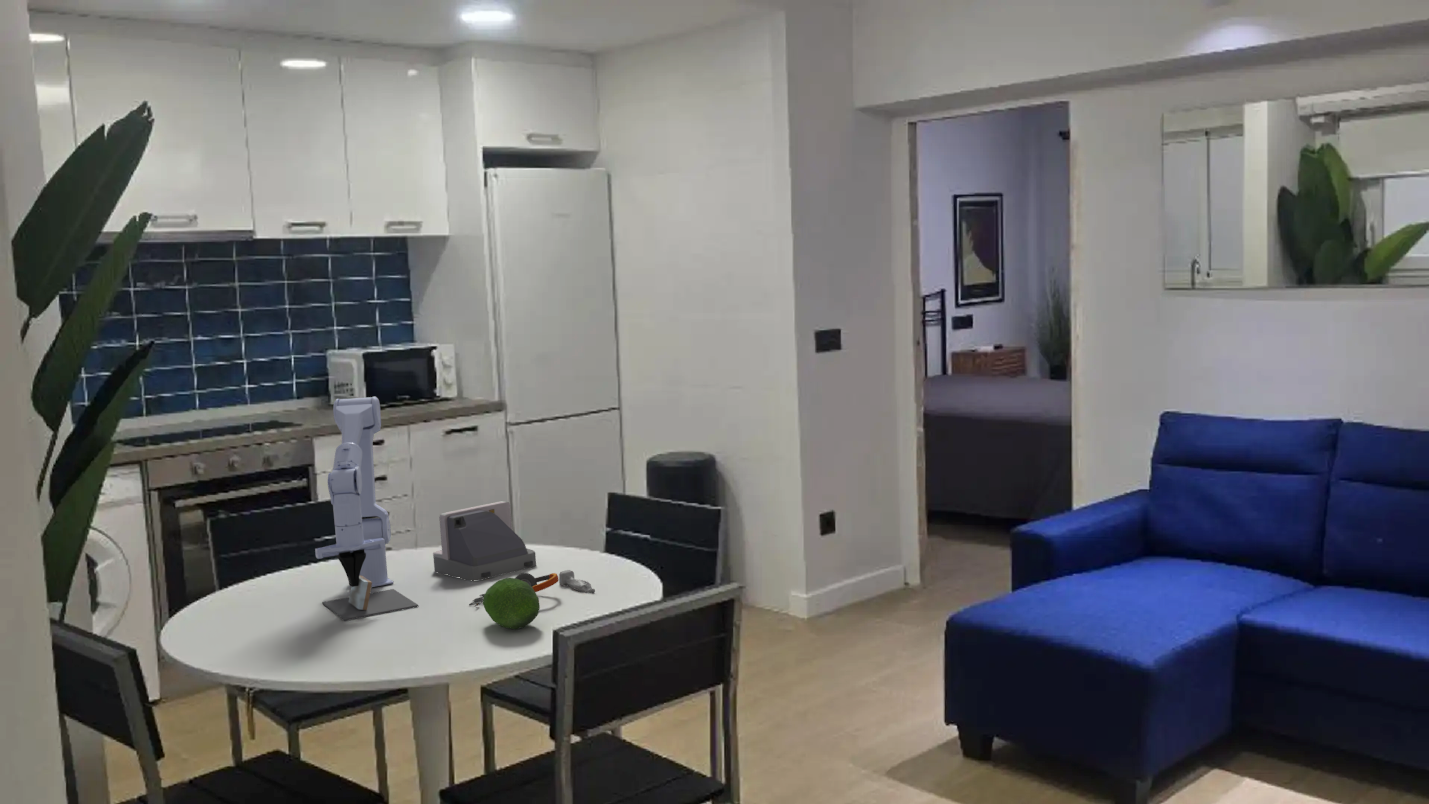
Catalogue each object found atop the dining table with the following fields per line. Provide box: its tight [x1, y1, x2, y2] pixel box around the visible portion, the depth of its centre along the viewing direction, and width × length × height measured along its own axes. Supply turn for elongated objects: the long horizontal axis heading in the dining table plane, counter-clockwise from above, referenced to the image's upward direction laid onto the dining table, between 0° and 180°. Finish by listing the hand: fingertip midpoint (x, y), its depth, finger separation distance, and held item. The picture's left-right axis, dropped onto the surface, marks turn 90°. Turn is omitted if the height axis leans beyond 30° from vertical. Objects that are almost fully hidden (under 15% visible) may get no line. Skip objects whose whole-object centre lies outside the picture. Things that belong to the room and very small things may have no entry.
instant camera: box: [432, 500, 537, 582], centre depth 300 cm, size 21×21×15 cm
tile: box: [348, 575, 372, 610], centre depth 269 cm, size 8×2×6 cm, turn 32°
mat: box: [322, 588, 419, 622], centre depth 272 cm, size 18×16×1 cm
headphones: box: [468, 572, 559, 607], centre depth 270 cm, size 17×5×20 cm
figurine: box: [558, 569, 596, 594], centre depth 276 cm, size 4×12×4 cm, turn 38°
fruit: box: [482, 577, 541, 630], centre depth 249 cm, size 15×10×10 cm, turn 33°
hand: (353, 585), depth 268 cm, fingers closed
